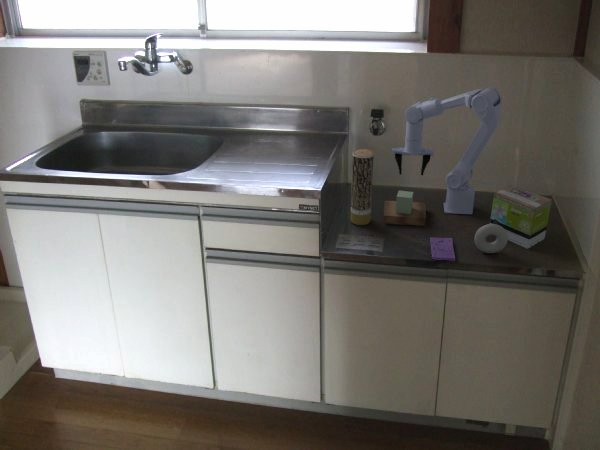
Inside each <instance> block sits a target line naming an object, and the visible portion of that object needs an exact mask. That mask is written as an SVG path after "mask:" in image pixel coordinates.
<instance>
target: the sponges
mask: <svg viewBox="0 0 600 450" xmlns="http://www.w3.org/2000/svg"><path fill="white" fill-rule="evenodd" d="M429 239H430V240H429V242H430V245H429V246H430V252H431V253H430V255H432V256H431V257H432V258H431V260H432V259H434V260H433V261H435V260H455V261H456V256H455V251H454V243H453V238H452V237H444V238H443V237H431V236H430V238H429Z"/></svg>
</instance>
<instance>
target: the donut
mask: <svg viewBox="0 0 600 450" xmlns="http://www.w3.org/2000/svg"><path fill="white" fill-rule="evenodd" d="M488 236H495V238H496V239H495V240H494V241H492V242H489V241H487V239H486V238H488ZM508 241H509V240H508V235H507V232H506V230H505V229H504V228H503V227H501V226H499V225H497V224H490V223H487V224H485V225H483V226H480V227H479V228H478V229H477V230H476V232H475V234H474V244H475V246H476V248H477V249H478V250H480V251H481V252H483V253H485V254H496V253H499V252H500V251H502V250H503V249H504V248H505V247H506V246H507V244H508Z"/></svg>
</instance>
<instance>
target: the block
mask: <svg viewBox="0 0 600 450" xmlns="http://www.w3.org/2000/svg"><path fill="white" fill-rule="evenodd" d="M395 201H396V213H404V214H411V210H412V205H413V202H414V191H408V190H398V191H397V194H396V200H395Z"/></svg>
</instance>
